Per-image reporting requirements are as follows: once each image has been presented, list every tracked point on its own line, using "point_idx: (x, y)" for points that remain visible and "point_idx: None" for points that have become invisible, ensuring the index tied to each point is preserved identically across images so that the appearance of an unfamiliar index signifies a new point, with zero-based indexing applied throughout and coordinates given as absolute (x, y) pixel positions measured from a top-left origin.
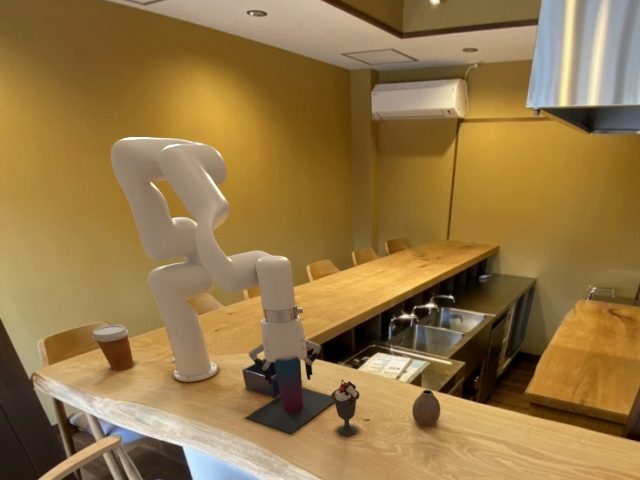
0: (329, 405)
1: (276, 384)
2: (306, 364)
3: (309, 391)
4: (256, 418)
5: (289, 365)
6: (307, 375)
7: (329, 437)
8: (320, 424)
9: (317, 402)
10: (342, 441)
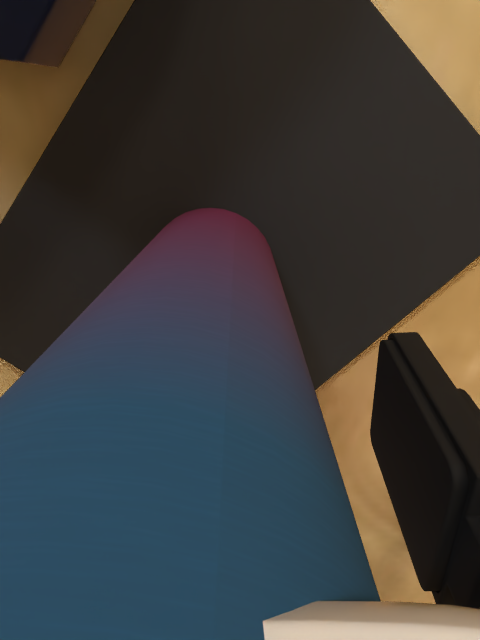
0: (441, 284)
1: (30, 12)
2: (449, 564)
3: (351, 26)
4: (9, 344)
5: None
6: (386, 481)
7: (358, 513)
8: (342, 433)
9: (375, 239)
10: (400, 539)
